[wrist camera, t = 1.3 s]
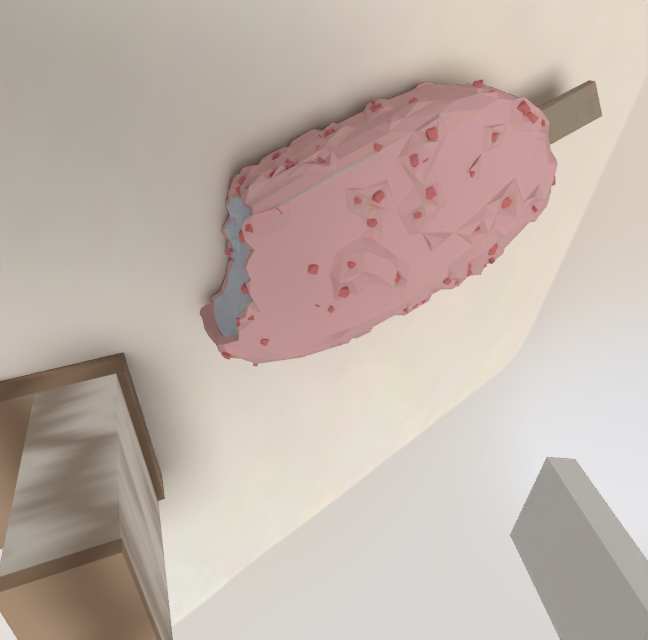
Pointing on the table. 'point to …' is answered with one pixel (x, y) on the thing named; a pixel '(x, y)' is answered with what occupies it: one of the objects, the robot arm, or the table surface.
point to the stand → (80, 508)
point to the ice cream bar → (382, 213)
